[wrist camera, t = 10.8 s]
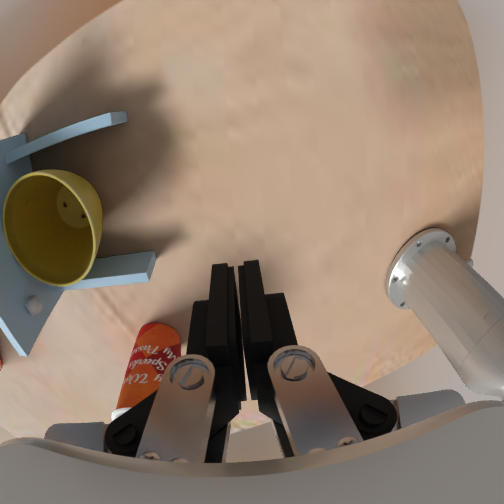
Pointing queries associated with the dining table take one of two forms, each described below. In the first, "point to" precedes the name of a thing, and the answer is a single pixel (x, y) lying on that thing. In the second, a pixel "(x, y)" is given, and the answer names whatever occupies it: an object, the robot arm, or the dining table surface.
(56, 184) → the flower pot
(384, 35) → the dining table surface
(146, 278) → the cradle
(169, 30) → the dining table surface
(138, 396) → the paper cup
